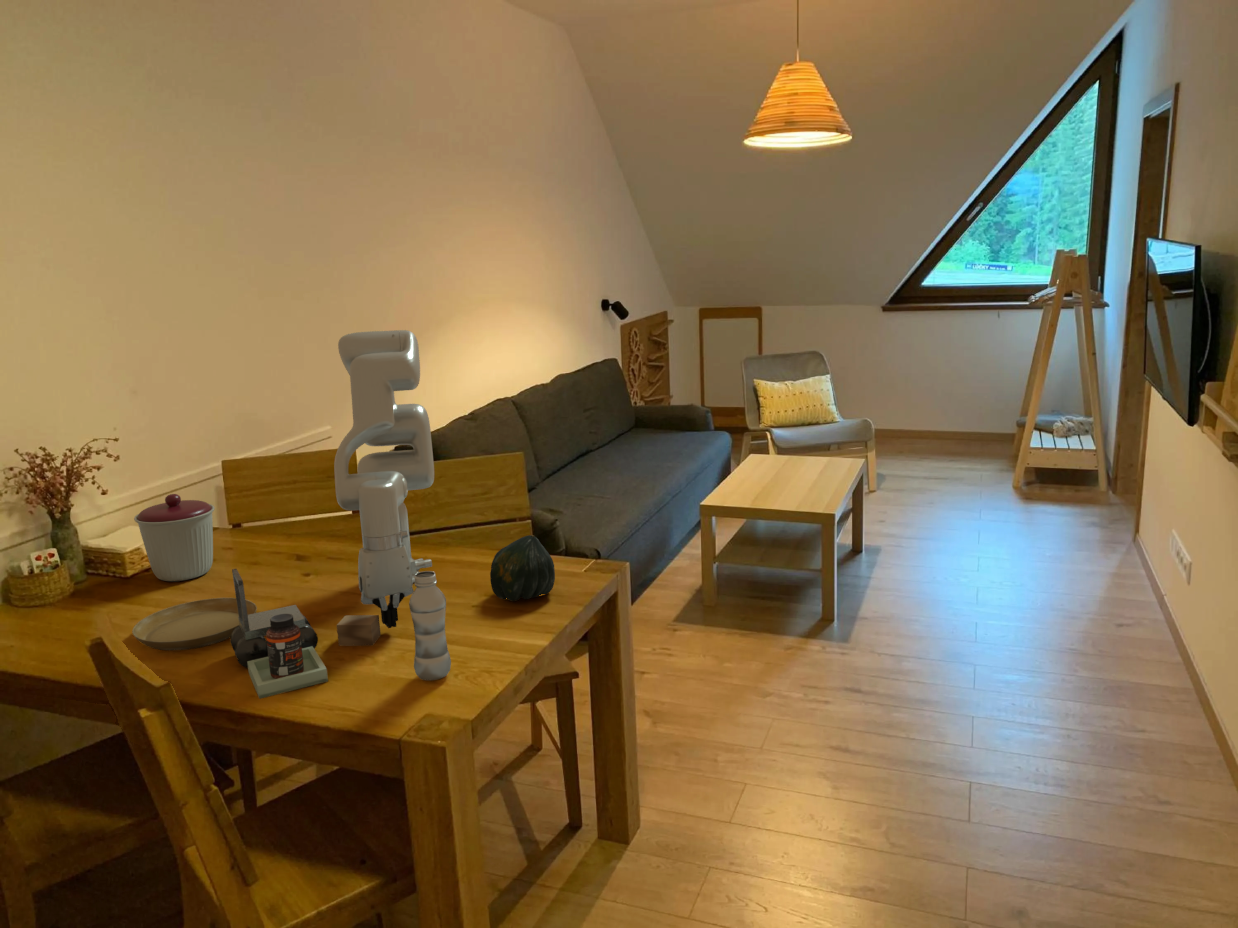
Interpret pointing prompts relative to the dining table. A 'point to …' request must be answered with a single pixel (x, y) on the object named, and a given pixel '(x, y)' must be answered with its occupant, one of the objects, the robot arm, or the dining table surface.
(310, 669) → the tray
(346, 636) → the block
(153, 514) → the canister
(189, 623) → the plant saucer
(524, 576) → the squash
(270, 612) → the trolley
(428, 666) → the plastic bottle
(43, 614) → the dining table surface
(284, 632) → the supplement bottle
